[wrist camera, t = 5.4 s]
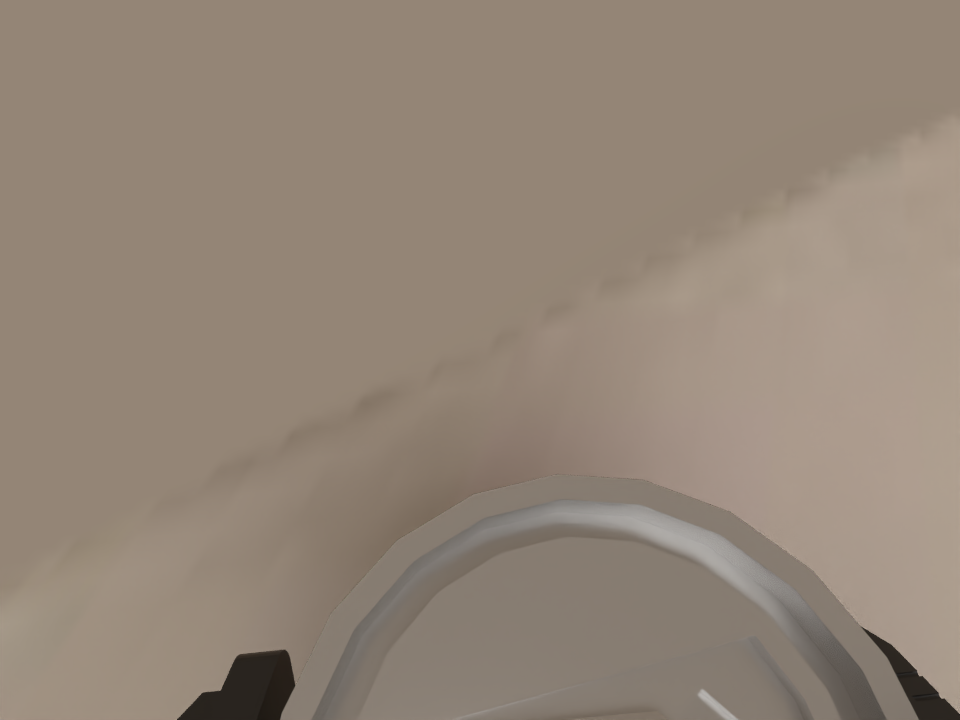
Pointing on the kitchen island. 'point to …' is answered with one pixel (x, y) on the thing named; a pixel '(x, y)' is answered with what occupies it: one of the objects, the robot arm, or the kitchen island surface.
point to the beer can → (592, 619)
